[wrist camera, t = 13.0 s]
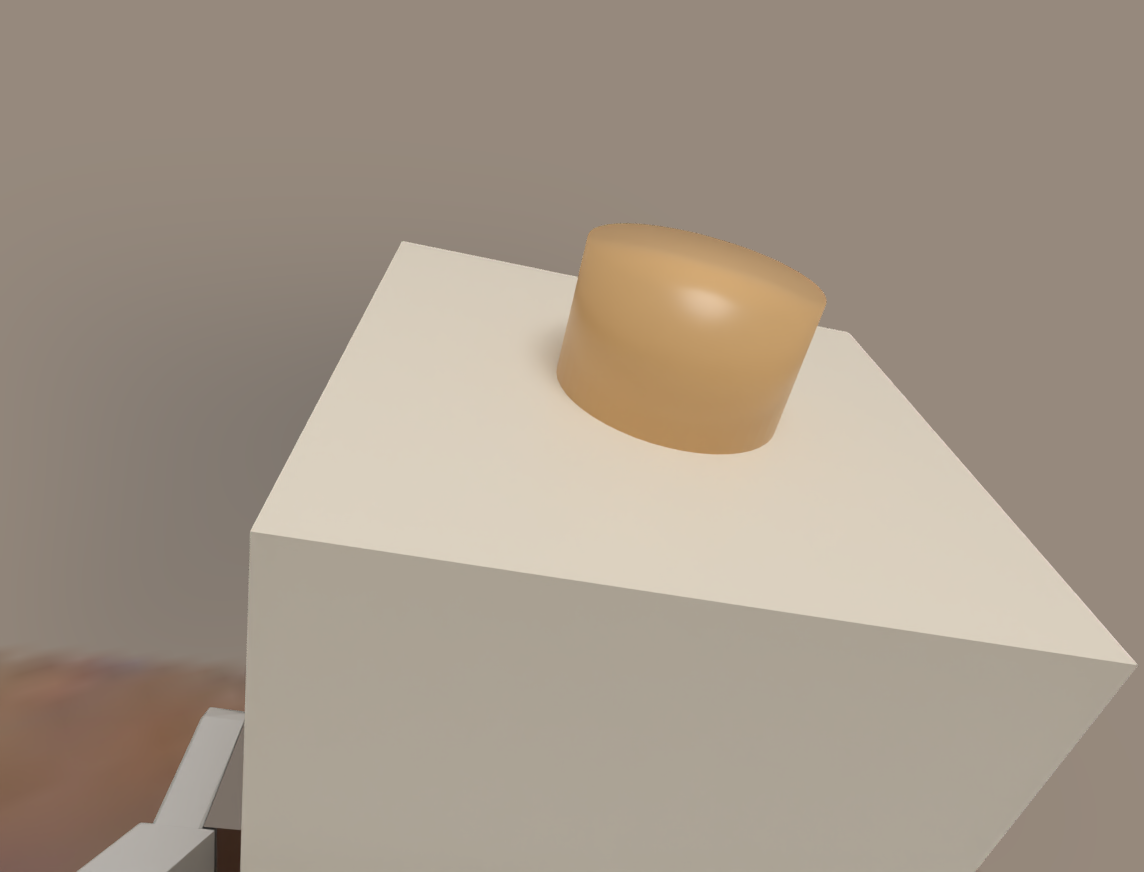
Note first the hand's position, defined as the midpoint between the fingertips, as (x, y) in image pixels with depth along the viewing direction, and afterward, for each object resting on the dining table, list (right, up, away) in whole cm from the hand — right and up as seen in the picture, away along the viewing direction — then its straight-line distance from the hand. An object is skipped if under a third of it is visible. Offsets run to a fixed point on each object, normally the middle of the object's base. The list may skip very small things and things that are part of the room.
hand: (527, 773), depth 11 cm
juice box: (-2, -7, +3) cm, 8 cm away
